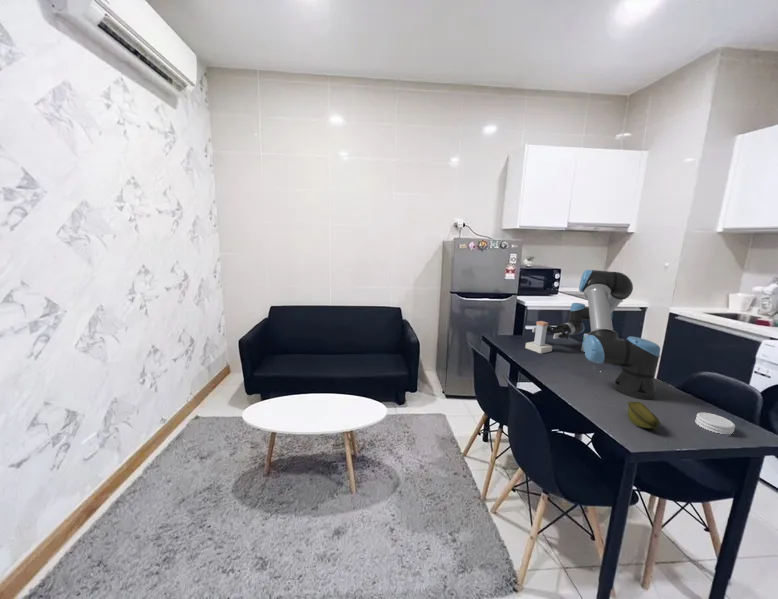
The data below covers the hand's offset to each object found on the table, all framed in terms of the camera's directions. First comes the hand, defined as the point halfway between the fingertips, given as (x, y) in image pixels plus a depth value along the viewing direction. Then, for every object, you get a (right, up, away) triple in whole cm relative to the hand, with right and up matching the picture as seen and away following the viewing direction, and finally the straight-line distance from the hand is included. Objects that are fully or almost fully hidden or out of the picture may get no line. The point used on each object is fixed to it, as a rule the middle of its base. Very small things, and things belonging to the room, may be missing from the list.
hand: (543, 333), depth 194 cm
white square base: (-3, -10, 0) cm, 11 cm away
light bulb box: (+28, -12, +1) cm, 31 cm away
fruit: (+2, -25, -73) cm, 77 cm away
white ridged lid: (+27, -27, -73) cm, 83 cm away
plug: (-3, -9, 0) cm, 10 cm away
